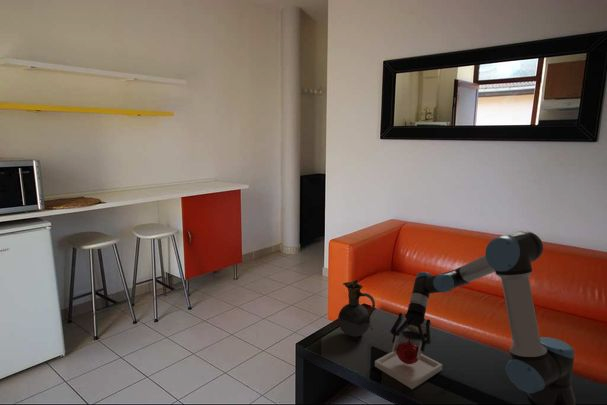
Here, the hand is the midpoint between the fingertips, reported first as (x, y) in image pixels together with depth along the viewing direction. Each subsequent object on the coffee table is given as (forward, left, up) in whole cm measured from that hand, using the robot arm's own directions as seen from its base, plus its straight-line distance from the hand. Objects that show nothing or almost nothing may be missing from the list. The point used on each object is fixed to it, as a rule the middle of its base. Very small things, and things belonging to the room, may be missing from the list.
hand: (405, 355), depth 163 cm
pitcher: (+33, -4, -8) cm, 34 cm away
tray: (+1, -3, -8) cm, 8 cm away
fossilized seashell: (+17, -31, -8) cm, 36 cm away
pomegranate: (+1, -3, -4) cm, 5 cm away
